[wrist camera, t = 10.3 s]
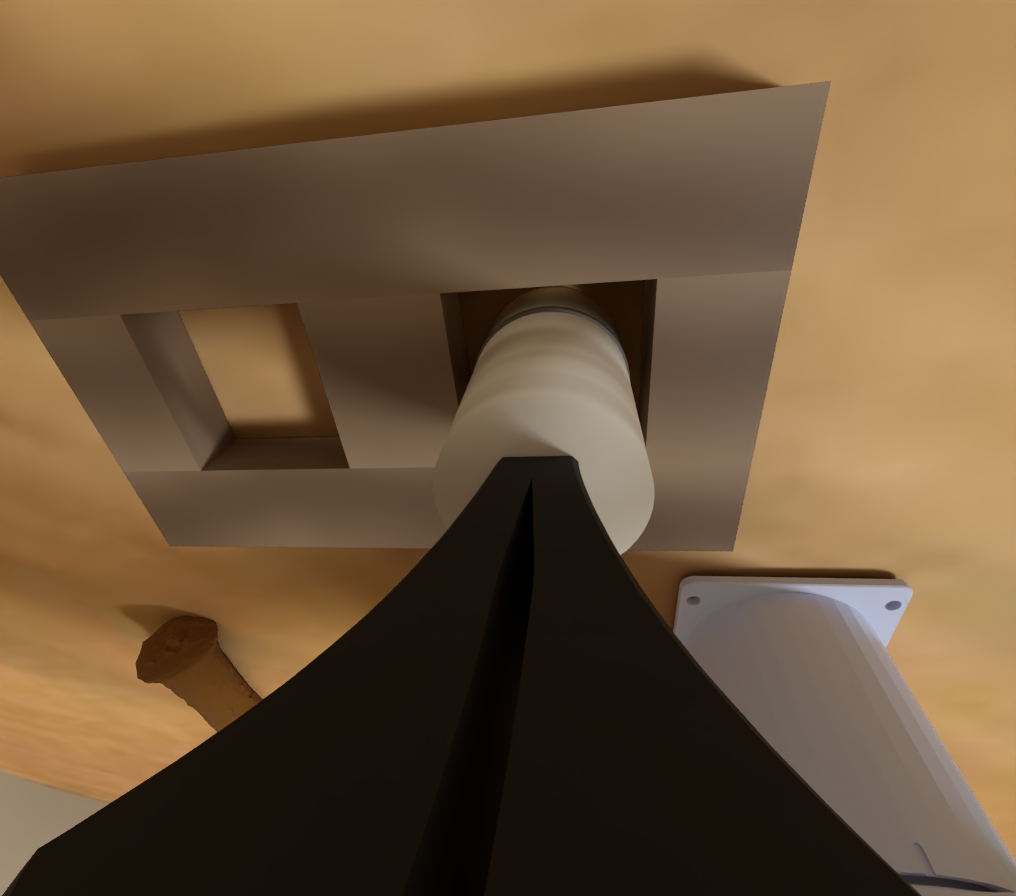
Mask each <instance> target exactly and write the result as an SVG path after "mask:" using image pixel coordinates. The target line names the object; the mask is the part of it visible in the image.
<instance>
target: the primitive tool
mask: <svg viewBox="0 0 1016 896" xmlns="http://www.w3.org/2000/svg"><path fill="white" fill-rule="evenodd" d="M217 632H218V629H217V624H216V622H214V621H212V620H209V619H206V618H201V617H196V618H193V617H189V616H183V617H179V618H175V619H173V620H171V621H169V622H167V623H165V624H163V625H162V626H161V627H160V628H159V629H158V630H157V631H156V632H155V633H154V634H153V635H152V636H151V637H149V638H148V639H147V640H145V641H144V642H143V644H142V648H141V652H140V654H139V656H138V659H137V661H136V669H137V678H138V679H141V680H142V681H144V682H146V683H161V684H164V686H165V687H167V688H169V689H171V690H172V691H173V692H174V693H175V694H176V695H177V696H178V697H180V698H182V699H184V700H185V701H186V702H187V705H189V706H191V707H193V708H194V709H195V710H196V711H197V712H198V713H200V715H201V716H202V717H203V718H204V719H205V720H206V721H207V722H208V724H209V725H210V726H211V727H212V728H214V729H215V730H216V731H217V732H219V731H220V730H222V729H223V728H224V727H226V726H227V725H229V724H230V723H232V722H233V721H234V720H236V719H237V718H239V717H240V716H241V715H243V714H244V713H245V712H247V711H248V710H250V709H251V708H252V707H254V706H255V705H256V704H258V703H259V702H260V701H262V698H261V697H260V696H259V695H258V694H257V693H256V692H254V690H252V689H251V688H250V687H249V685H248V684H247V683H246V682H245V680H244V679H243V677H242V676H241V675H240V674H239V673H238V672H237V671H236V670H235V668H234V667H233V665H232V664H231V662H230V661H229V659H228V658H227V656H225V655H224V654H223V653H222V651H221V650H220V647H219V643H218V641H217V638H218V635H217Z"/></svg>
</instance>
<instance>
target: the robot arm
mask: <svg viewBox="0 0 1016 896" xmlns="http://www.w3.org/2000/svg"><path fill="white" fill-rule="evenodd" d="M912 595H913V591H912V589H911V588H910V586H909V585H908V584H907V582H905V581H903V580H899V579H858V578H796V577H735V576H689V577H686V578H684V579H683V580H682V581H681V583H680V585H679V592H678V600H677V607H676V615H675V622H674V629H673V631H672V630H671V628H670V627H669V626H668V624H667V623H666V622H665V620H664V619H663V618H662V616H661V615H660V614H659V612H658V611H657V610H656V608H655V607H654V606H653V604H652V603H651V601H650V600H649V598H648V597H647V596H646V594H645V593H644V591H643V590H642V588H641V587H640V585H639V584H638V582H637V581H636V579H635V578H634V576H633V575H632V573H631V572H630V570H629V568H628V567H627V565H626V564H625V562H624V560H623V559H622V557H621V556H620V554H619V552H618V551H617V549H616V547H615V545H614V544H613V542H612V540H611V539H610V537H609V535H608V533H607V531H606V529H605V527H604V525H603V523H602V522H601V520H600V518H599V516H598V514H597V512H596V510H595V508H594V506H593V504H592V501H591V499H590V497H589V494H588V492H587V490H586V487H585V485H584V482H583V479H582V476H581V473H580V469H579V463H578V461H577V460H576V459H575V458H574V457H573V456H529V457H502V458H501V459H500V460H499V461H498V462H497V464H496V465H495V467H494V468H493V470H492V471H491V472H490V474H489V475H488V477H487V478H486V480H485V481H484V483H483V484H482V485H481V487H480V488H479V490H478V491H477V492H476V494H475V495H474V496H473V498H472V499H471V500H470V502H469V503H468V504H467V506H466V507H465V508H464V509H463V511H462V512H461V513H460V514H459V516H458V517H457V518H456V519H455V521H454V522H453V523H452V524H451V526H450V527H449V528H448V530H447V531H446V532H445V533H444V534H443V536H442V537H441V538H440V539H439V540H438V541H437V542H436V544H435V545H434V546H433V547H432V548H431V549H430V550H429V551H428V552H427V554H426V555H425V556H424V557H423V558H422V559H421V560H420V561H419V563H418V564H417V565H416V566H415V567H414V568H413V569H412V570H411V571H410V572H409V573H408V575H407V576H406V577H405V578H404V579H403V580H402V581H401V582H400V583H399V584H398V585H397V586H396V587H395V588H394V589H393V590H392V591H391V592H390V593H389V594H388V595H387V596H386V597H385V598H384V599H383V600H382V601H380V602H379V603H378V604H377V605H376V606H375V607H374V608H373V609H372V610H371V611H370V612H369V613H368V614H367V615H366V616H365V617H363V618H362V619H361V620H360V621H359V622H358V623H357V624H356V625H354V626H353V627H352V628H351V629H350V630H349V631H348V632H346V633H345V634H344V635H343V636H342V637H341V638H339V639H338V640H337V641H336V642H335V643H334V644H332V645H331V646H330V647H329V648H328V649H326V650H325V651H324V652H323V653H322V654H320V655H319V656H318V657H317V658H316V659H314V660H313V661H312V662H311V663H309V664H308V665H307V666H306V667H305V668H303V669H302V670H301V671H300V672H299V673H297V674H296V675H295V676H294V677H292V678H291V679H290V680H288V681H287V682H286V683H285V684H283V685H282V686H281V687H279V688H278V689H277V690H275V691H274V692H272V693H271V694H270V695H268V696H267V697H266V698H264V699H263V700H262V701H260V702H259V703H258V704H256V705H255V706H254V707H252V708H251V709H250V710H248V711H247V712H245V713H244V714H243V715H241V716H240V717H239V718H237V719H236V720H234V721H233V722H232V723H230V724H229V725H227V726H226V727H224V728H223V729H222V730H220V731H219V732H217V733H216V734H215V735H213V736H212V737H210V738H209V739H207V740H206V741H205V742H203V743H202V744H200V745H199V746H197V747H196V748H194V749H193V750H191V751H190V752H189V753H187V754H186V755H184V756H183V757H181V758H180V759H178V760H177V761H175V762H174V763H172V764H171V765H169V766H168V767H166V768H165V769H163V770H161V771H160V772H158V773H157V774H155V775H154V776H152V777H151V778H149V779H147V780H146V781H144V782H143V783H141V784H140V785H138V786H137V787H135V788H133V789H132V790H130V791H129V792H127V793H126V794H124V795H123V796H121V797H119V798H118V799H116V800H115V801H113V802H112V803H110V804H109V805H107V806H106V807H104V808H102V809H101V810H99V811H98V812H96V813H95V814H93V815H91V816H90V817H88V818H87V819H85V820H84V821H82V822H81V823H79V824H77V825H76V826H74V827H73V828H71V829H70V830H68V831H66V832H65V833H63V834H61V835H60V836H58V837H57V838H55V839H53V840H52V841H50V842H49V843H47V844H45V845H44V846H42V847H40V848H39V849H37V851H36V852H35V853H34V855H33V856H32V857H31V859H30V860H29V861H28V862H27V863H26V865H25V866H24V867H23V869H22V870H21V871H20V872H19V874H18V875H17V876H16V878H15V879H14V880H13V882H12V883H11V884H10V886H9V887H8V888H7V890H6V891H5V893H4V894H3V895H2V896H1016V861H1015V860H1014V858H1013V856H1012V855H1011V853H1010V852H1009V850H1008V848H1007V847H1006V845H1005V843H1004V842H1003V840H1002V838H1001V837H1000V835H999V834H998V832H997V830H996V829H995V827H994V825H993V824H992V822H991V820H990V819H989V817H988V816H987V814H986V812H985V811H984V809H983V807H982V806H981V804H980V802H979V801H978V799H977V798H976V796H975V794H974V793H973V791H972V789H971V788H970V786H969V784H968V783H967V781H966V780H965V778H964V776H963V775H962V773H961V771H960V770H959V768H958V766H957V765H956V763H955V762H954V760H953V758H952V757H951V755H950V753H949V752H948V750H947V748H946V747H945V745H944V744H943V742H942V740H941V739H940V737H939V735H938V734H937V732H936V730H935V729H934V727H933V726H932V724H931V722H930V721H929V719H928V717H927V716H926V714H925V712H924V711H923V709H922V708H921V706H920V704H919V703H918V701H917V699H916V698H915V696H914V694H913V693H912V691H911V690H910V688H909V686H908V685H907V683H906V681H905V680H904V678H903V676H902V675H901V673H900V672H899V670H898V668H897V667H896V665H895V663H894V662H893V660H892V658H891V657H890V655H889V654H888V652H887V650H886V647H887V645H888V643H889V641H890V639H891V637H892V635H893V633H894V631H895V629H896V627H897V625H898V623H899V621H900V619H901V617H902V615H903V613H904V611H905V609H906V607H907V605H908V603H909V601H910V599H911V597H912ZM693 596H695V597H693ZM690 597H691V598H690Z"/></svg>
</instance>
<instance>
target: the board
mask: <svg viewBox="0 0 1016 896" xmlns="http://www.w3.org/2000/svg"><path fill="white" fill-rule="evenodd" d="M830 82H831V81H826V82H818V83H809V84H800V85H792V86H783V87H775V88H766V89H757V90H749V91H740V92H732V93H723V94H715V95H706V96H697V97H689V98H680V99H672V100H663V101H654V102H646V103H637V104H629V105H620V106H611V107H603V108H594V109H586V110H577V111H568V112H560V113H551V114H543V115H534V116H525V117H517V118H508V119H500V120H491V121H482V122H474V123H465V124H457V125H448V126H439V127H431V128H422V129H414V130H405V131H396V132H388V133H379V134H371V135H362V136H353V137H345V138H336V139H328V140H319V141H310V142H302V143H293V144H285V145H276V146H267V147H259V148H250V149H242V150H233V151H224V152H216V153H207V154H199V155H190V156H181V157H173V158H164V159H156V160H147V161H138V162H130V163H121V164H113V165H104V166H95V167H87V168H78V169H70V170H61V171H52V172H44V173H35V174H27V175H18V176H9V177H1V178H0V275H1V277H2V278H3V280H4V281H5V283H6V285H7V286H8V288H9V289H10V291H11V293H12V294H13V296H14V297H15V299H16V301H17V302H18V304H19V305H20V307H21V309H22V310H23V312H24V313H25V315H26V317H27V318H28V320H29V322H30V323H31V325H32V326H33V328H34V330H35V331H36V333H37V334H38V336H39V338H40V339H41V341H42V342H43V344H44V346H45V347H46V349H47V350H48V352H49V354H50V355H51V357H52V358H53V360H54V362H55V363H56V365H57V366H58V368H59V370H60V371H61V373H62V374H63V376H64V378H65V379H66V381H67V382H68V384H69V386H70V387H71V389H72V390H73V392H74V394H75V395H76V397H77V398H78V400H79V402H80V403H81V405H82V406H83V408H84V410H85V411H86V413H87V414H88V416H89V418H90V419H91V421H92V422H93V424H94V426H95V427H96V429H97V430H98V432H99V434H100V435H101V437H102V438H103V440H104V442H105V443H106V445H107V446H108V448H109V450H110V451H111V453H112V454H113V456H114V458H115V459H116V461H117V462H118V464H119V466H120V467H121V469H122V470H123V472H124V474H125V475H126V477H127V478H128V480H129V482H130V483H131V485H132V486H133V488H134V490H135V491H136V493H137V494H138V496H139V498H140V499H141V501H142V502H143V504H144V506H145V507H146V509H147V510H148V512H149V514H150V515H151V517H152V518H153V520H154V522H155V523H156V525H157V526H158V528H159V530H160V531H161V533H162V534H163V536H164V538H165V539H166V541H167V542H168V544H169V546H218V547H325V548H432V547H433V546H434V545H435V544H436V542H437V541H438V540H439V539H440V538H441V537H442V536H443V534H444V533H445V532H446V531H447V530H448V529H447V528H446V526H445V525H444V523H443V521H442V519H441V517H440V515H439V513H438V511H437V508H436V505H435V501H434V495H433V475H434V469H435V466H436V463H437V460H438V457H439V454H440V452H441V449H442V447H443V445H444V442H445V440H446V437H447V435H448V432H449V430H450V428H451V425H452V423H453V420H454V418H455V415H456V413H457V411H458V408H459V406H460V403H461V401H462V398H463V396H464V394H465V391H466V389H467V386H468V384H469V381H470V379H471V376H470V369H469V362H468V356H467V349H466V342H465V335H464V328H463V321H462V314H461V307H460V300H459V293H458V292H468V291H483V290H498V289H513V288H528V287H543V286H558V285H573V284H588V283H603V282H618V281H633V280H645V292H644V310H643V328H642V346H641V364H640V383H639V401H638V417H639V422H640V426H641V430H642V434H643V438H644V443H645V447H646V451H647V455H648V459H649V464H650V468H651V472H652V477H653V482H654V494H655V497H654V505H653V510H652V513H651V516H650V519H649V521H648V523H647V525H646V527H645V529H644V531H643V532H642V534H641V535H640V537H639V538H638V539H637V541H636V542H635V543H634V544H633V545H632V546H631V547H630V548H629V549H628V550H646V551H733V549H734V544H735V539H736V534H737V530H738V525H739V520H740V515H741V510H742V505H743V501H744V496H745V491H746V486H747V481H748V477H749V472H750V467H751V462H752V457H753V453H754V448H755V443H756V438H757V433H758V429H759V424H760V419H761V414H762V409H763V404H764V400H765V395H766V390H767V385H768V380H769V376H770V371H771V366H772V361H773V356H774V352H775V347H776V342H777V337H778V332H779V328H780V323H781V318H782V313H783V308H784V303H785V299H786V294H787V289H788V284H789V279H790V275H791V270H792V265H793V260H794V255H795V251H796V246H797V241H798V236H799V231H800V226H801V222H802V217H803V212H804V207H805V202H806V198H807V193H808V188H809V183H810V178H811V174H812V169H813V164H814V159H815V154H816V150H817V145H818V140H819V135H820V130H821V125H822V121H823V116H824V111H825V106H826V101H827V97H828V92H829V87H830ZM288 303H297V306H298V309H299V312H300V315H301V318H302V321H303V324H304V327H305V330H306V334H307V337H308V340H309V343H310V346H311V349H312V352H313V355H314V358H315V362H316V365H317V368H318V371H319V374H320V377H321V380H322V383H323V386H324V389H325V393H326V396H327V399H328V402H329V405H330V408H331V411H332V414H333V417H334V421H335V424H336V427H337V430H338V433H339V436H337V437H296V438H256V439H235V436H234V434H233V432H232V430H231V428H230V425H229V423H228V421H227V419H226V417H225V414H224V412H223V410H222V408H221V406H220V403H219V401H218V399H217V397H216V395H215V392H214V390H213V388H212V386H211V384H210V381H209V379H208V377H207V375H206V373H205V370H204V368H203V366H202V364H201V362H200V359H199V357H198V355H197V353H196V351H195V348H194V346H193V344H192V342H191V340H190V337H189V335H188V333H187V331H186V329H185V326H184V324H183V322H182V320H181V318H180V315H179V313H178V311H183V310H198V309H213V308H228V307H243V306H258V305H273V304H288Z"/></svg>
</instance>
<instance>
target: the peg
mask: <svg viewBox="0 0 1016 896" xmlns="http://www.w3.org/2000/svg"><path fill="white" fill-rule="evenodd" d="M529 456H573V457H574V458H575V459H576V460H577V461H578V463H579V469H580V473H581V476H582V479H583V482H584V485H585V487H586V490H587V492H588V494H589V497H590V499H591V501H592V504H593V506H594V508H595V510H596V512H597V514H598V516H599V518H600V520H601V522H602V523H603V525H604V527H605V529H606V531H607V533H608V535H609V537H610V539H611V540H612V542H613V544H614V545H615V547H616V549H617V551H618V552H619V554H620V555H621V554H623V553H624V552H625V551H626V550H628V549H629V548H630V547H631V546H632V545H633V544H634V543H635V542H636V541H637V539H638V538H639V537H640V535H641V534H642V532H643V531H644V529H645V527H646V525H647V523H648V521H649V519H650V516H651V513H652V510H653V505H654V497H655V494H654V482H653V477H652V472H651V468H650V464H649V459H648V455H647V451H646V447H645V443H644V438H643V434H642V430H641V426H640V422H639V417H638V413H637V409H636V405H635V401H634V396H633V392H632V388H631V384H630V372H629V367H628V362H627V358H626V356H625V353H624V350H623V348H622V346H621V342H620V338H619V333H618V330H617V328H616V325H615V323H614V321H613V319H612V318H611V316H610V315H609V313H608V312H607V311H606V309H605V308H604V307H603V306H602V305H601V304H600V303H598V302H597V301H596V300H594V299H593V298H592V297H590V296H588V295H586V294H585V293H582V292H580V291H577V290H574V289H570V288H564V287H545V288H539V289H535V290H532V291H529V292H527V293H525V294H522V295H520V296H519V297H517V298H516V299H514V300H513V301H512V302H510V303H509V304H508V305H507V306H506V307H505V308H504V309H503V310H502V311H501V312H500V314H499V315H498V317H497V318H496V320H495V322H494V324H493V326H492V328H491V330H490V333H489V335H488V338H487V339H486V341H485V342H484V344H483V346H482V348H481V350H480V352H479V354H478V357H477V360H476V363H475V367H474V372H473V374H472V377H471V379H470V381H469V384H468V386H467V389H466V391H465V394H464V396H463V398H462V401H461V403H460V406H459V408H458V411H457V413H456V415H455V418H454V420H453V423H452V425H451V428H450V430H449V432H448V435H447V437H446V440H445V442H444V445H443V447H442V449H441V452H440V454H439V457H438V460H437V463H436V466H435V469H434V475H433V495H434V501H435V505H436V508H437V511H438V513H439V515H440V517H441V519H442V521H443V523H444V525H445V526H446V528H447V529H448V528H449V527H450V526H451V524H452V523H453V522H454V521H455V519H456V518H457V517H458V516H459V514H460V513H461V512H462V511H463V509H464V508H465V507H466V506H467V504H468V503H469V502H470V500H471V499H472V498H473V496H474V495H475V494H476V492H477V491H478V490H479V488H480V487H481V485H482V484H483V483H484V481H485V480H486V478H487V477H488V475H489V474H490V472H491V471H492V470H493V468H494V467H495V465H496V464H497V462H498V461H499V460H500V459H501V458H502V457H529Z"/></svg>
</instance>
